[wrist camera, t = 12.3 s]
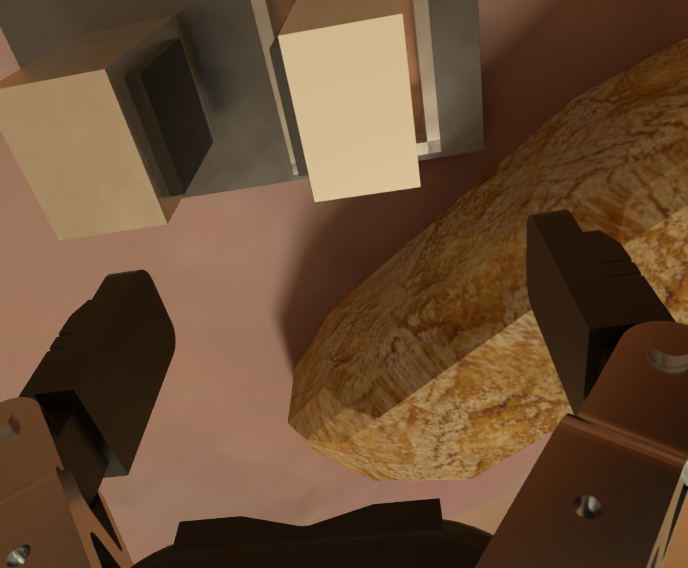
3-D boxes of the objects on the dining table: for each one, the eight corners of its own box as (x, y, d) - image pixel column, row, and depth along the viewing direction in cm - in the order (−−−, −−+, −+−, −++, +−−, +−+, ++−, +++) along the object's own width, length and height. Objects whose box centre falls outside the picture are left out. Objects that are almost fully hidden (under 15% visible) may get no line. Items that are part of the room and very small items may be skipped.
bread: (369, 438, 46) (371, 559, 38) (260, 369, 42) (236, 488, 34) (844, 109, 30) (1023, 196, 22) (743, -53, 26) (916, -20, 18)
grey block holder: (-6, -27, 27) (-174, 19, 19) (466, -129, 25) (523, -129, 16) (100, 200, 34) (12, 310, 25) (479, 139, 31) (524, 240, 23)
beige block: (390, -28, 25) (402, 13, 18) (405, 106, 29) (420, 187, 21) (288, -8, 26) (259, 39, 19) (314, 121, 29) (299, 204, 22)
